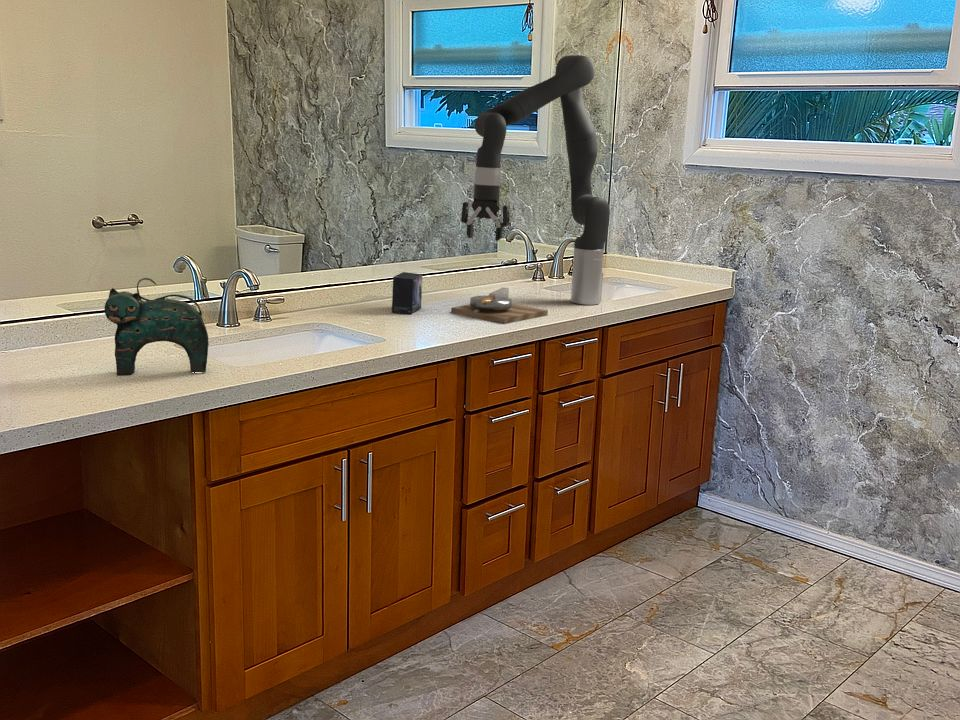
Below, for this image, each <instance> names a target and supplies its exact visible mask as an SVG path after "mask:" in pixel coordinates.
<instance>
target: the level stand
mask: <svg viewBox="0 0 960 720" xmlns="http://www.w3.org/2000/svg"><path fill="white" fill-rule="evenodd" d="M450 313H451V314H456V315H461V316H465V317H471V318H475V319H480V320H485V321H490V322H493V323H494V322H495V323H500V324H504V325H506V324H511V323H515V322H520V321H525V320H530V319H535V318H540V317H546V316H548V315H549V310H548V309H545V308H544V309H543V308H538V307H534V306H533V307H532V306H528V305H523V304H517V303H513V302H512V307H511V308H510V309H506V310H484V309H478V308H473V307H471V306H470V304H465V305H463V304H462V305H459V306H458V305H457V306H453V307H451V309H450Z"/></svg>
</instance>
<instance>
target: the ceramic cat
mask: <svg viewBox="0 0 960 720" xmlns="http://www.w3.org/2000/svg"><path fill="white" fill-rule="evenodd" d="M142 281H149V282H151V283H153V284H154V285H157V283H156V282H155V280H153V279H152V278H149V277H144V278H143V277H142V278H141V279H138V281H137V285H136V292H135V293H133V292H129V291H117V290H116V289H115V288H114V287H112V288H111V289H110V291H109V293H108V298H107V300H106V301H105V303H104V315H105V316H106V318H107V320H108V321H110V322H111V323H113V324H115V325H117V326H116V330H115V333H114V358H115V365H116V368H115V369H116V376H132V375H134V373H135V370H136V360H137V357H138V356H137V355H138V353H139V352H140V351H141V349H143V347H144V346H146V345H148V344H151V343H156V342H168V343H173V344H176V345H178V346H180V347H182V348H183V349H184V350H185V352H186V354H187V357H188V360H189V367H190V368H189V369H190V373H191V372H194V373H195V372H205V373H206V371H207V365H208V363H207V362H208V356H209V355H208V354H209V353H208V352H209V345H210V344H209V334H208V330H207V327H206V325H205V322H204V319H203V317H202V315H203V313H202V309H201V307H200V305H199V304H198V303H197V302H196V300H194V298H191V297H189V296H187V295H183V294H175V293H174V294H166V295H164V296H160V297H158V298H157V297H156V298H154V299H148V298H146V297H143V296H141V294H140V290H139V285H140V283H141V282H142ZM169 297H170V298H169ZM171 297H175V298H176V297H177V298H182V299H187V300H189V301H191V302H192V303H193V304H194V305H196V307H197V308H198V309H196V308H195V306H193V305H191V304H189V302H185V301H184V300H183V301H182V300H179V299H174V298H171ZM198 310H199V311H198Z"/></svg>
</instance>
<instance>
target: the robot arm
mask: <svg viewBox="0 0 960 720" xmlns="http://www.w3.org/2000/svg"><path fill="white" fill-rule="evenodd" d="M595 74H596V67H595V64H594V61H592V59H591V58H590V57H588V56H585V55H581V54H578V55H577V54H574V55H563V56H562V57H561V58H560V59H559V60H558V61H557V63H556V66H555V74H554V75H553V76H552V77H549V78H547V79H546V80H544V81H542V82H538V83H536V84H534V85H531V86H530V87H527V88H525V89H523V90H521V91H520V92H517V93H516V94H515V95H513V96H512V97H510V98H508V99H507V100H505V101H504V102H503V103H500V104H498V105H496V106H493V107H491V108H490V109H487V110H485V111H482V112H481V114H479V115H478V116H477V117H476V119H475V121H474V130H475V132H476V133H477V134H478V136H480V137H482V143H481V146H480V147H478V149H477V151H476V164H475V173H474V182H473V183H474V184H473V185H474V186H473V201H472V202H469V201H464V202H463V203H462V206H461V208H462V209H461V216H460V217H461V218H460V221H461V223H463V224H466V236H467V238H469V239H473V238H474V223H475V222H476V221H477V220H478V219H487V220H492V221H493V223H494V225H495V227H496V228H495V239H494V240H495V241H497V242H499V241H501V239H503V238H502V237H503V228H504V227H507V226H509V225H510V205H509V204H505V205H501V204H500V194H501V188H500V187H501V163H502V160H501V159H502V151H503V149H504V144H505V141H506V135H507V127H508V126H510V125H514V124H517V123H519V122H521V121H523V120H524V119H526V118H527V117H529V116H530V115H533V114H534V113H536V112H537V111H539V110H540V109H541V108H543V107H545V106H547V105H548V104H550V103H551V102H553V101H555V100H557V99H558V98H560V102H561V107H562V117H563V125H564V132H565V133H564V136H565V144H566V151H567V158H568V159H567V160H568V170H569V178H570V180H569V181H570V202H571V204H570V206H571V209H570V210H571V215H572V218H573V220H574V221H575V223H577V224H578V225H581V226H583V227H584V228H583V232H582V234H581V235H580V236H578V237H576V238H575V239H574V245H573V246H574V247H573V260H572V261H573V262H572V276H571V277H572V278H571V289H570V290H571V291H570V302H571V303H572V304H573V303H574V304H576V305H577V304H578V305H588V306H590V305H599V304H600V303H601V302H602V296H603V295H602V293H603V292H602V291H603V282H604V281H603V280H604V272H603V266H604V250H605V249H604V248H605V243H606V242H607V238H608V235H609V227H610V226H609V225H610V218H611V209H610V205H609V203H608V201H607V200H606V199H605V198H604V197H599V196H594V195H593V191H592V173H593V171H594V167H595V164H596V161H597V157H598V140H597V132H596V129H595V126H594V124H593V121H592V118H591V117H590V114H589V111H588V110H587V108H586V105H585V102H584V95H583V88H585V86H586V87H587V86H588V85H589V84H591V82H592V81H593V79H594V77H595ZM471 208H472V210H473V213H472V214H471V215H470V218H469V211H470V210H471ZM499 210H500V211H501V213H502V219H501V218H500V215H499V214H498V212H500V211H499ZM501 220H502V221H501Z"/></svg>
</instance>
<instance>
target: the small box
mask: <svg viewBox="0 0 960 720" xmlns="http://www.w3.org/2000/svg"><path fill="white" fill-rule="evenodd" d="M422 293H423V273H414V272H405V271H404V272H401V273H399V274H396V275H394V276H392V297H391V298H392V299H391V313H395V314H405V315H413V314H414V313H416V312H417V311H420V310H421V309H422V300H423V299H422V296H423V295H422Z"/></svg>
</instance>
